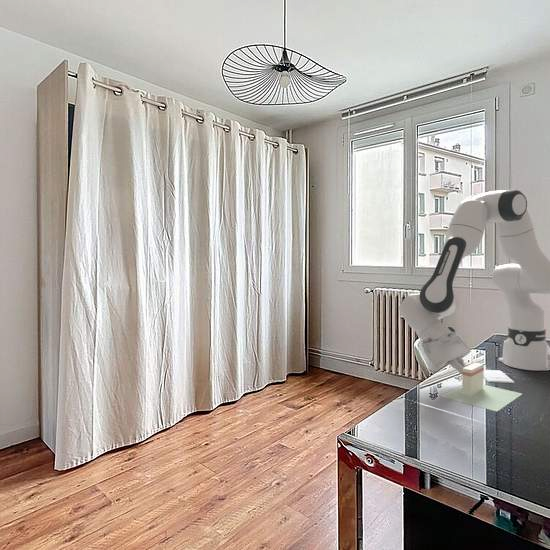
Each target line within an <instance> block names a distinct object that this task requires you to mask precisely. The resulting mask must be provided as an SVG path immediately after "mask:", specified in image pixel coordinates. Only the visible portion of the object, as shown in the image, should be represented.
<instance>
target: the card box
mask: <svg viewBox="0 0 550 550" xmlns="http://www.w3.org/2000/svg"><path fill="white" fill-rule="evenodd" d="M484 366H485V365H484V363H478V362H474V363H471V364H469V365H467V366H466V367H464V368H462V374H461V375H462V377H461V378H462V379H461V380H462V381H461V383H462V384H461V385H462V394H464V395H468V396H472V395H474V394H476V393H477V392H479V391H481V390H483V385H484V378H483V375H484V370H485V367H484Z"/></svg>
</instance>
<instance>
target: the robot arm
mask: <svg viewBox="0 0 550 550" xmlns="http://www.w3.org/2000/svg"><path fill="white" fill-rule="evenodd" d="M527 208H528V200H527V198H526V196H525V194H524V193H523V192H522V191H521V190H517V189H506V190H492V191H488V192H484V193H480V194H479V193H478V194H473V195H470V196H469V197H466V198H465V199H464V200H463V201H461V203H459V205H458V206H457V208H456V210H455V211H454V213H453V216H452V218H451V219H450V220H451V221H450V222H449V225H448V228H447V231H446V235H445V238H444V243H443V249H442V252H441V254H440V256H439V258H438V261H437V263H436V267H435V269H434V271H433V273H432V275H431V277H430V278H429V280H428V281H426V283H425V284H424V285H423V286H422V287H421V288H420V291H419V293H410V294H408V295H406V296H405V297H404V298H403V300H402V301H401V302H400V305H399V307H398V308H399V312H400V314H401V316H402V317H403V319H404V320H405V322H406V323H407V325H408V326H409V327H410V328H411V329H412V330H414V331H415V332H416V335H417V337H418V338H419V340H420V341H421V347H422V348H423V353H424V354H425V356H426V358H427V359H428V361H429V362H430V363H431V364H432V366H434V367H435V368H437V369H438V368H441V367H443V366H446V365H448V364H449V365H450V366H451V367H452V368H453V369H455V370H456V371H457V372H458V373H459V374H461V375H462V368H464V367H466V363H465V361H464V359H463V358H465V357H467V356H468V355H469V354H470V353H471V349H470V347H469V346H468V344H467V342H466V341H465V340H464V339H463V338H462V337H461V335H459V334H458V333H457V330H456V329H455V327H454V326H448V325H446V324H443V323H442V322H441V321H440V320H442V319H444V318H446V317H448V316H450V315H452V314H453V313H454V312H455V311H456V310H457V307H458V301H457V297H456V295H455V294H454V290H453V284H454V280H455V278H456V275H457V272H458V270H459V267H460V264H461V262H462V261H463V259H464V258H466V257H469V256H471V255H472V254H474V253H475V252H476V251H477V248H478V247H479V245H480V244H481V241H482V238H483V235H484V232H485V229H486V225H487V224H495V223H496V228H497V229H496V230H497V232H498V233H497V234H498V236H499V237H498V239H499V241H500V246H501V249H502V252H503V254H504V255H505V256H506V258H508V259H511V260H513V261H514V262H516V263H506V264H500V265H498V266H496V267H495V269H494V270H493V271H492V274H491V280H492V284H493V286H494V287H495V288H496V289H498V290H499V291H500V292H501V293H502V295H503V296H504V298H505V300H506V303H507V306H508V315H509V316H508V317H509V321H508V323H509V325H508V326H509V327H508V328H507V339H505V340H504V341H503V348H502V357H498V361H499V362H501V363H503V364H504V365H506V366H508V367H511V368H515V369H519V370H525V371H549V370H550V345H549V344H548V342H547V341H546V339H547V338H546V334H547V330H546V328H545V310H544V309H543V307H542V306H541V305H540V304H538V303H537V302H535V301H534V299H532V297H531V294H541V295H547V294H548V295H549V294H550V258H548V257H547V256H546V255H545V254H544V252H543V251H542V249H541V248H540V246H539V244H538V240H537V236H536V234H535V230H534V226H533V222H532V218H531V216H530V214H529V211H528V209H527Z"/></svg>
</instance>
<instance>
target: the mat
mask: <svg viewBox="0 0 550 550" xmlns="http://www.w3.org/2000/svg"><path fill="white" fill-rule="evenodd" d="M522 395H523V393H522V392H518V391H512V390H509V389H504V388H500V387H495V386H491V385H487V384H483V390H481V391H479V392H477V393H476V394H474V395H472V396H468V395H464V394H462V384H461V385H459V386H458V387H455V388H453V389H451V390H449V391H447V392H445V393H443V394H442V395H440V397H442V398H446V399H450V400H453V401H457V402H460V403H463V404H468V405H471V406H475V407H479V408H482V409H485V410H490V411H493V412H499V411H501V410H502V409H503V408H505V407H507V405H509V404H510V403H512V402H513V401H515V400H516V399H518V398H519V397H520V396H522Z"/></svg>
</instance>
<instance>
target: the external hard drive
mask: <svg viewBox="0 0 550 550" xmlns="http://www.w3.org/2000/svg"><path fill="white" fill-rule="evenodd" d="M483 379H484V380H486V382H488V383H496V384H497V383H498V384H499V383H501V384H515V383H516V382H515V381H514V380H513V379H511V378H510V377H509V376H508V375H507V374H505V373H504V372H503V371H502V370H498V369H495V370H493V369H484V375H483Z"/></svg>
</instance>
